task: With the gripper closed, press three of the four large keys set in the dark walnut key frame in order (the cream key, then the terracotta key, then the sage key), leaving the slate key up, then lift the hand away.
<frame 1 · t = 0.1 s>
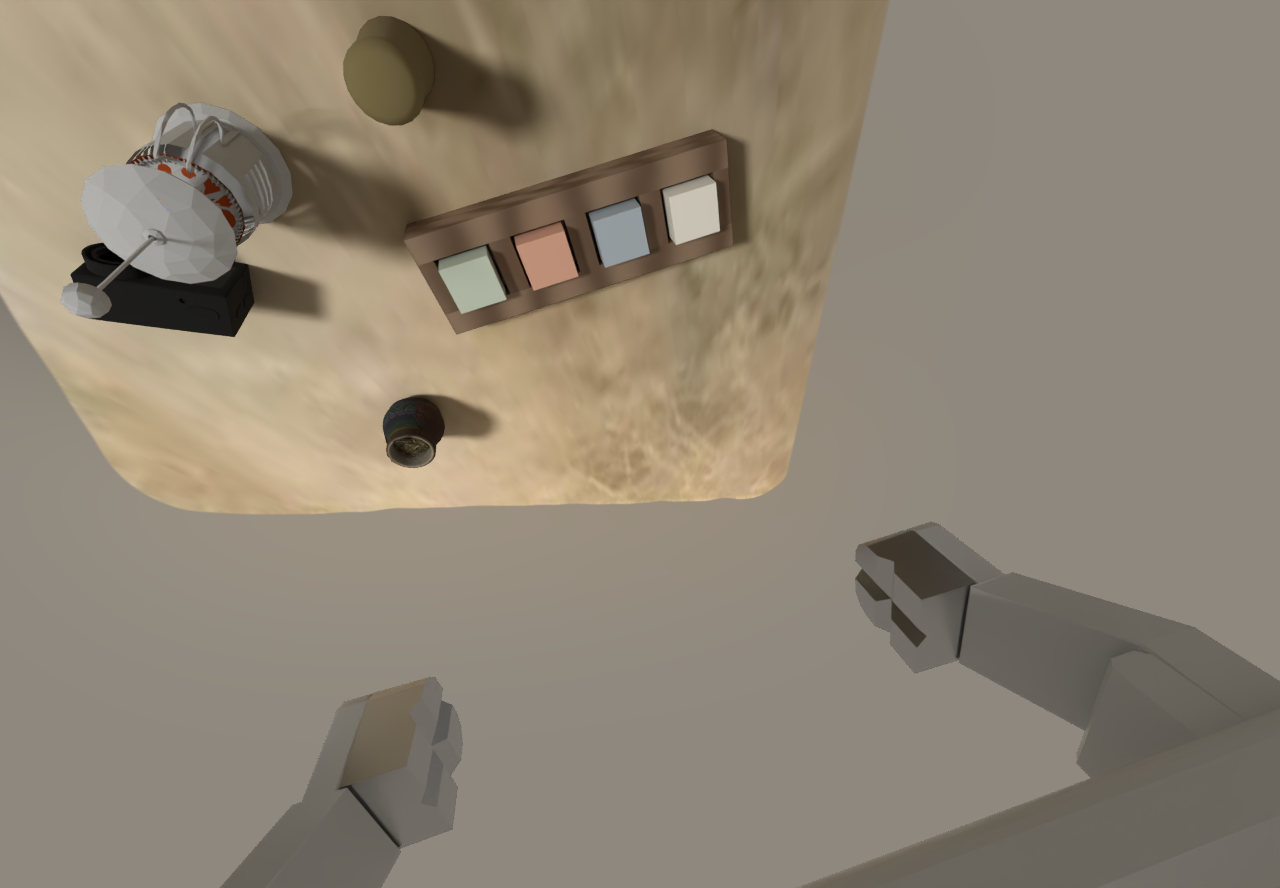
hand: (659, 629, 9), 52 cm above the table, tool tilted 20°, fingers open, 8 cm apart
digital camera: (187, 266, 48), on the table
slate key: (619, 233, 52), point 4 cm above the table, slide at 0.0 cm
terracotta key: (546, 256, 52), point 4 cm above the table, slide at 0.0 cm
mate gourd: (414, 409, 66), on the table
cream key: (691, 210, 52), point 4 cm above the table, slide at 0.0 cm
sage key: (473, 280, 52), point 4 cm above the table, slide at 0.0 cm
key frame: (576, 228, 55), on the table
french press: (227, 158, 44), on the table
cork: (396, 62, 42), on the table
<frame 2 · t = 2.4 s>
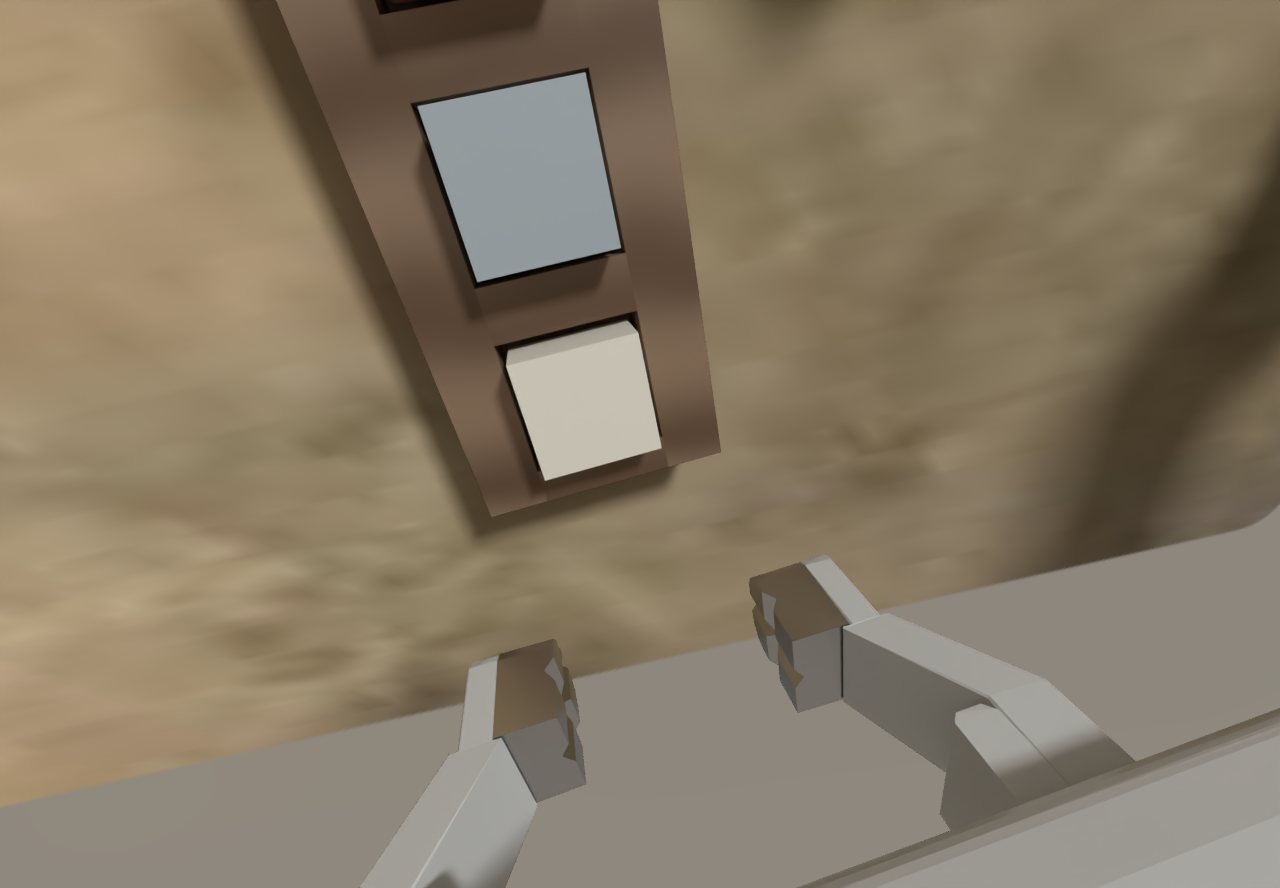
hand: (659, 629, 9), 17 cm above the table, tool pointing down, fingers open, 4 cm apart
slate key: (528, 184, 17), point 4 cm above the table, slide at 0.0 cm
cream key: (586, 399, 21), point 4 cm above the table, slide at 0.0 cm
key frame: (496, 72, 19), on the table
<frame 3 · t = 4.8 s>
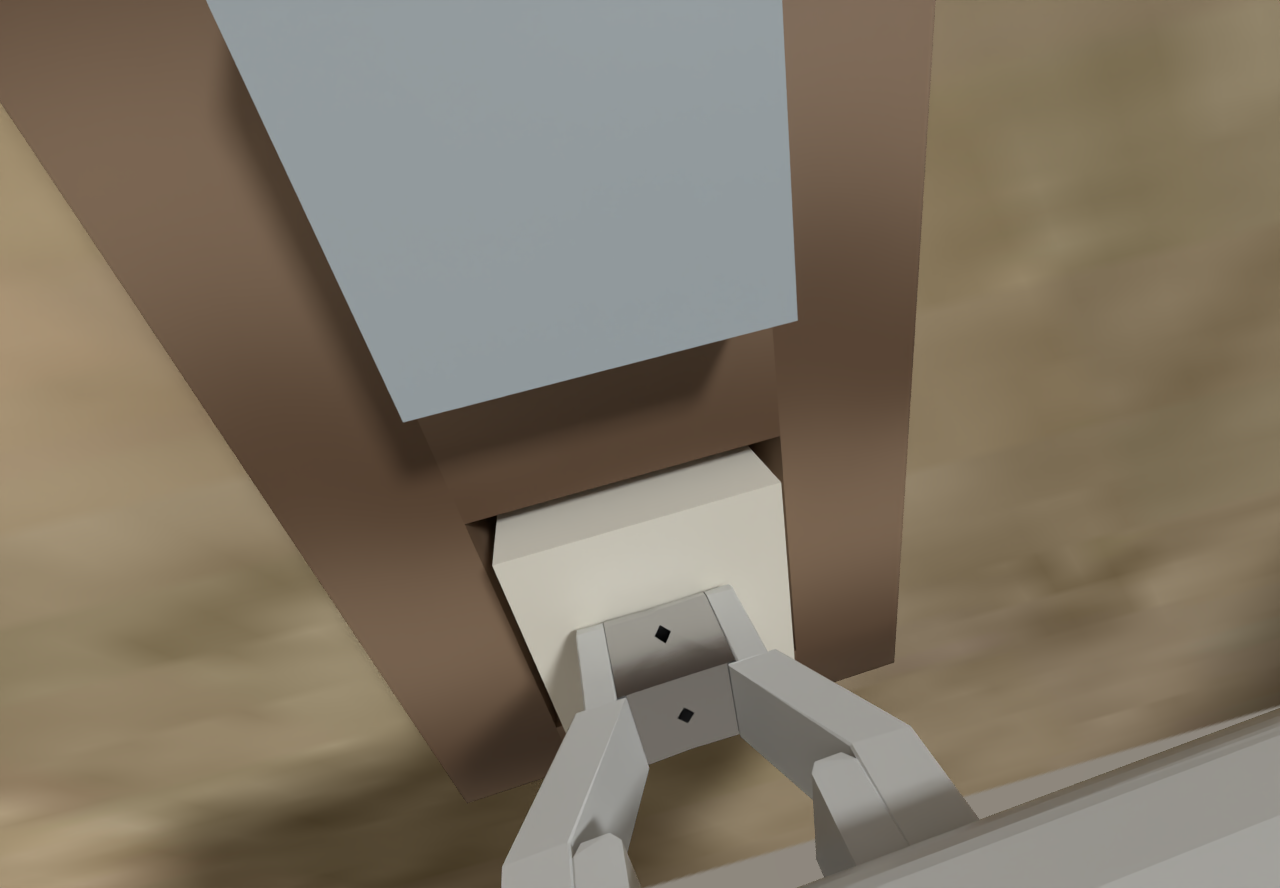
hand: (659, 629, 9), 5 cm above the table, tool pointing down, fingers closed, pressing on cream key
slate key: (547, 147, 6), point 4 cm above the table, slide at 0.0 cm
cream key: (651, 583, 11), point 4 cm above the table, slide at 0.9 cm, touching gripper
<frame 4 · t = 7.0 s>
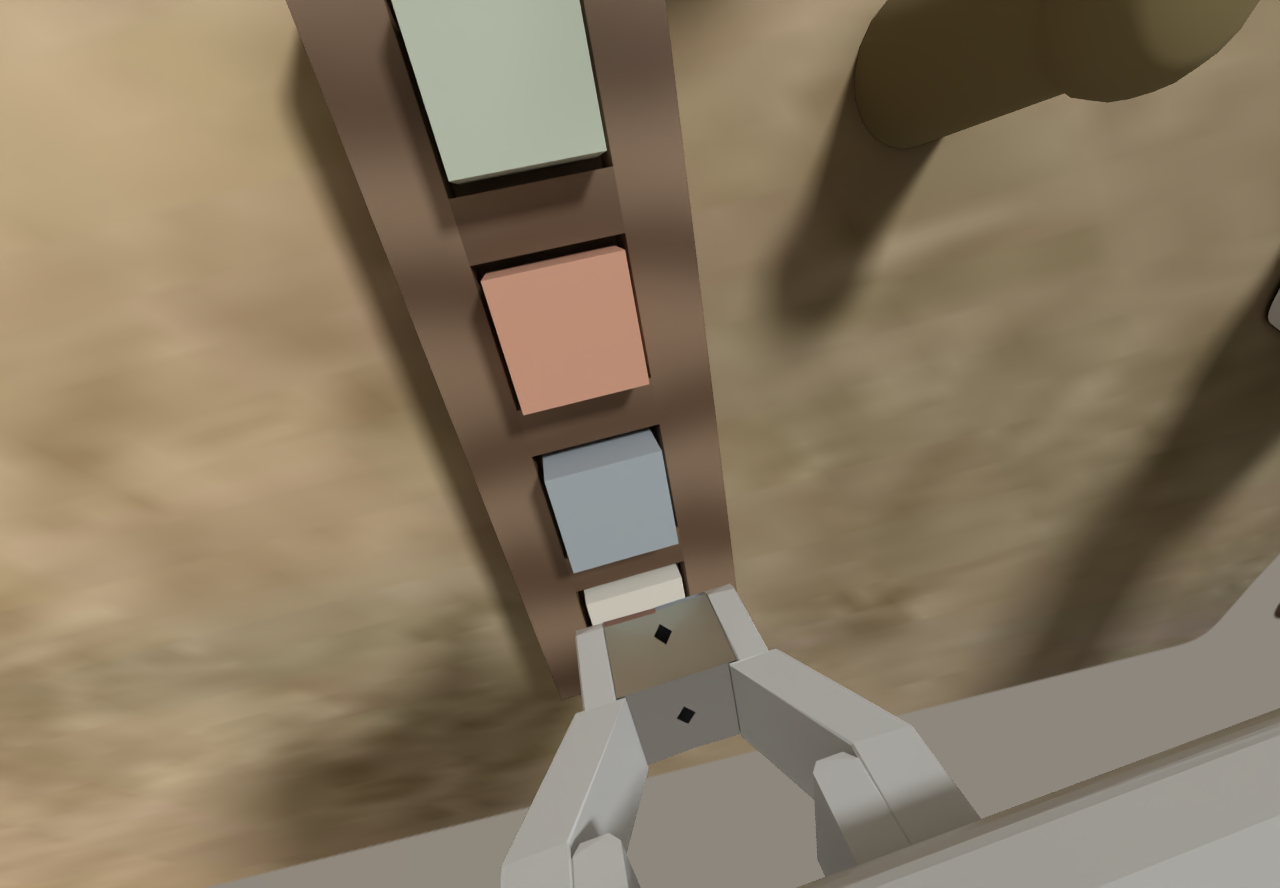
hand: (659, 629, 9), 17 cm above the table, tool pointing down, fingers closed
slate key: (611, 499, 23), point 4 cm above the table, slide at 0.0 cm
terracotta key: (569, 329, 19), point 4 cm above the table, slide at 0.0 cm
cream key: (638, 608, 27), point 3 cm above the table, slide at 1.0 cm
sage key: (506, 78, 15), point 4 cm above the table, slide at 0.0 cm
key frame: (581, 387, 25), on the table
cork: (914, 70, 22), on the table
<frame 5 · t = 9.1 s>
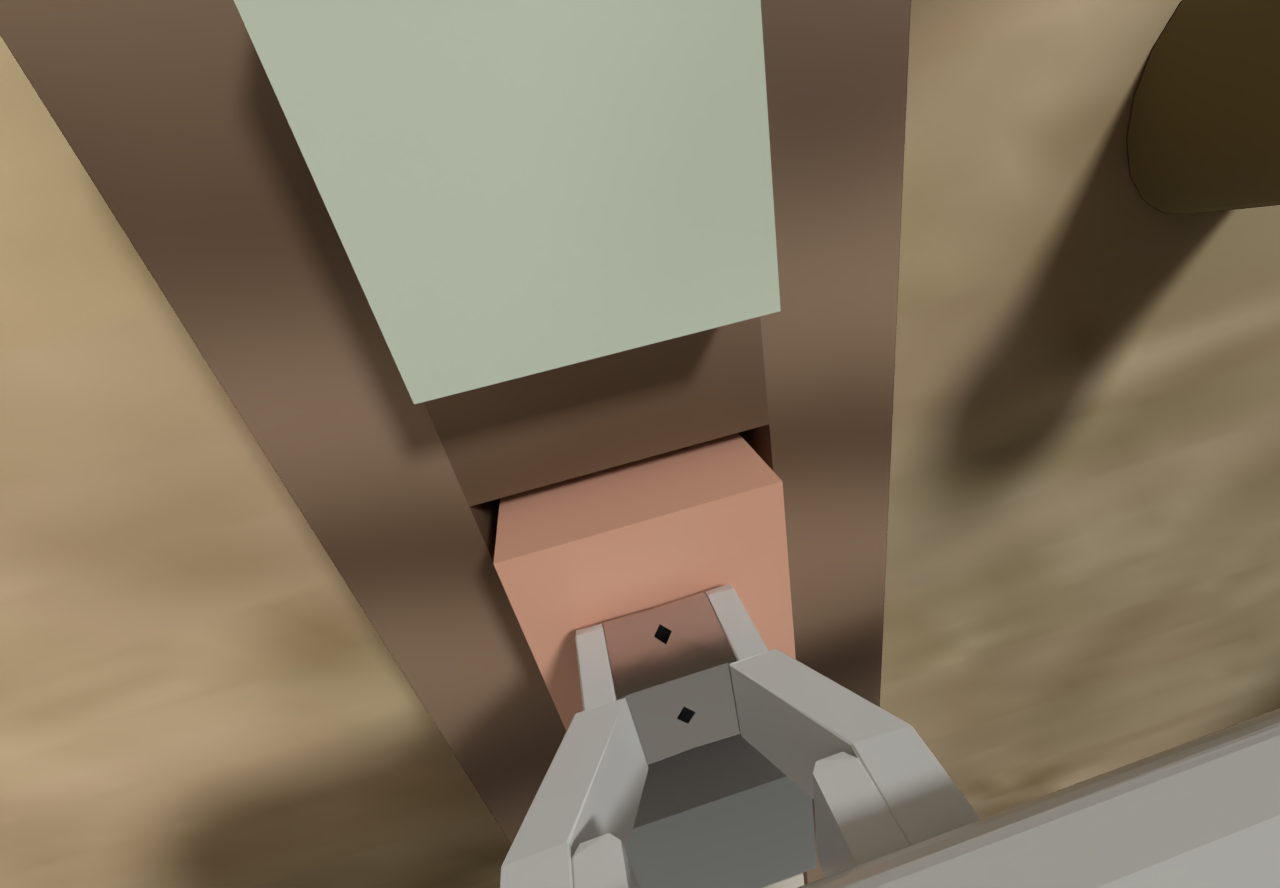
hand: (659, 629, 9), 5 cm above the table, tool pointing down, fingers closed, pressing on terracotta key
slate key: (707, 802, 14), point 4 cm above the table, slide at 0.0 cm
terracotta key: (652, 582, 11), point 4 cm above the table, slide at 0.4 cm, touching gripper
cream key: (727, 887, 18), point 3 cm above the table, slide at 1.0 cm
sage key: (547, 150, 7), point 4 cm above the table, slide at 0.0 cm
key frame: (647, 588, 16), on the table
cork: (1225, 86, 13), on the table
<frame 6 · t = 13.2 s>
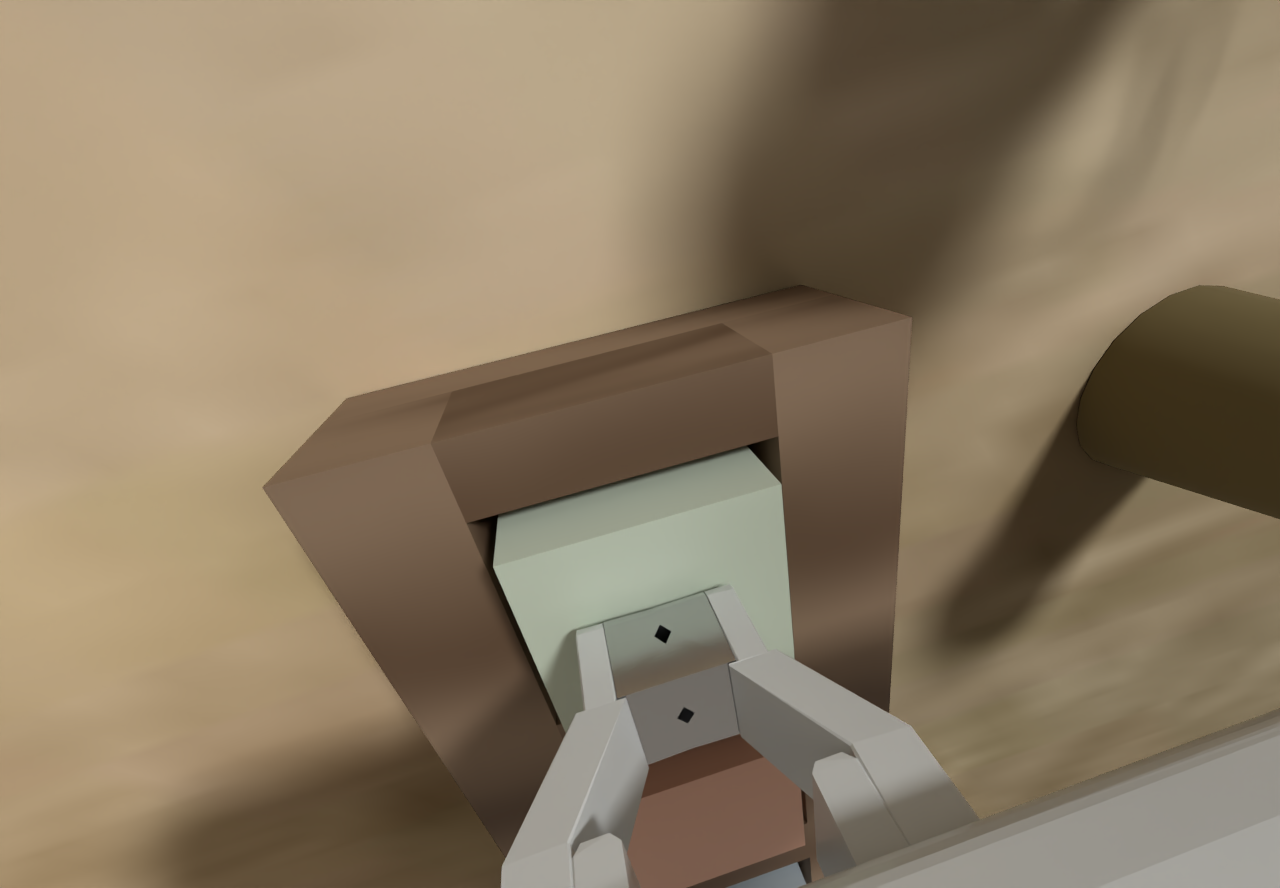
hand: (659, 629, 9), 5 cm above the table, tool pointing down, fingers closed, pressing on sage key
terracotta key: (700, 782, 14), point 3 cm above the table, slide at 1.0 cm
sage key: (652, 584, 11), point 4 cm above the table, slide at 0.8 cm, touching gripper
key frame: (687, 749, 19), on the table
cork: (1154, 380, 16), on the table
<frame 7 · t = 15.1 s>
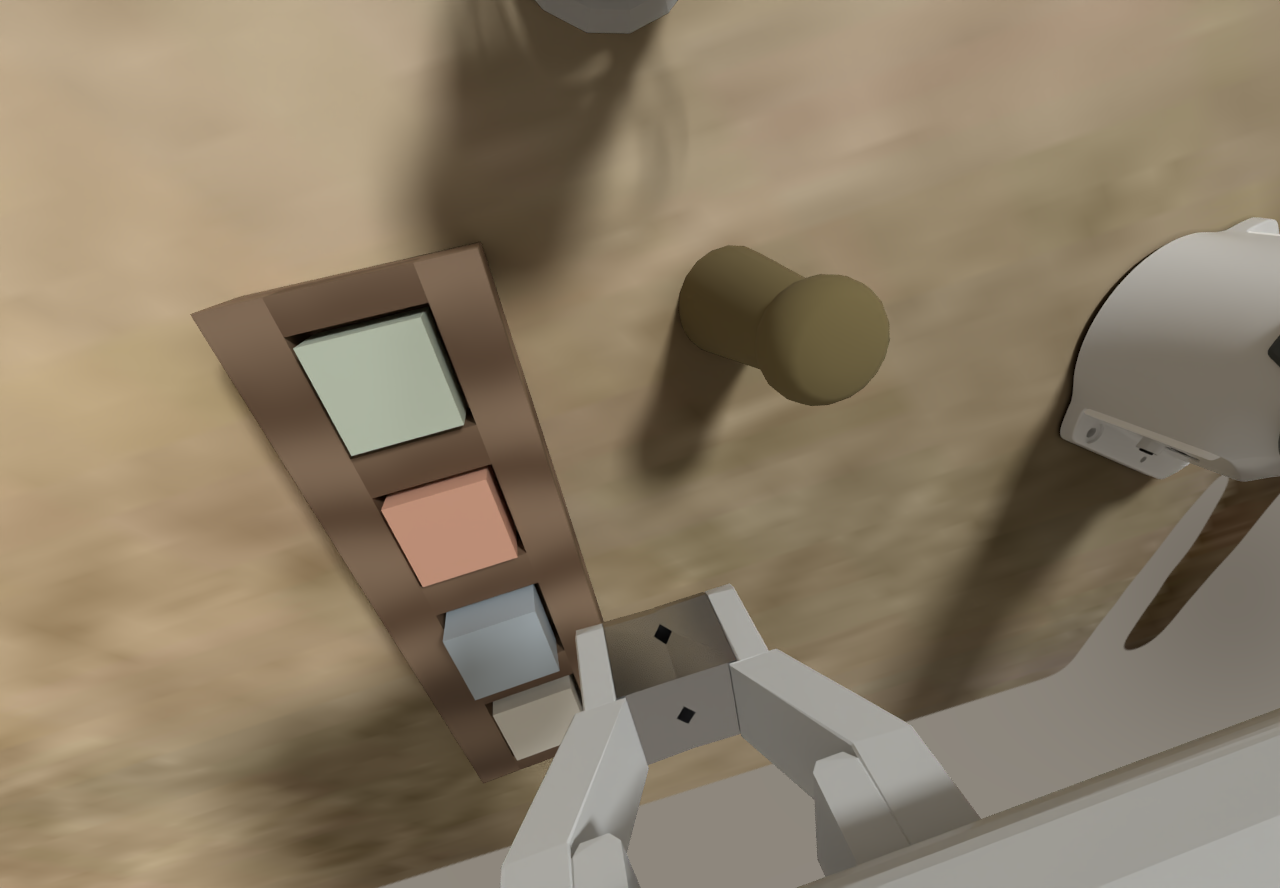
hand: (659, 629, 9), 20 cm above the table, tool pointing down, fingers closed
slate key: (504, 639, 29), point 4 cm above the table, slide at 0.0 cm
terracotta key: (455, 521, 26), point 3 cm above the table, slide at 1.0 cm
cream key: (541, 708, 34), point 3 cm above the table, slide at 1.0 cm
sage key: (390, 380, 22), point 3 cm above the table, slide at 1.0 cm
key frame: (483, 541, 31), on the table
cork: (727, 301, 28), on the table
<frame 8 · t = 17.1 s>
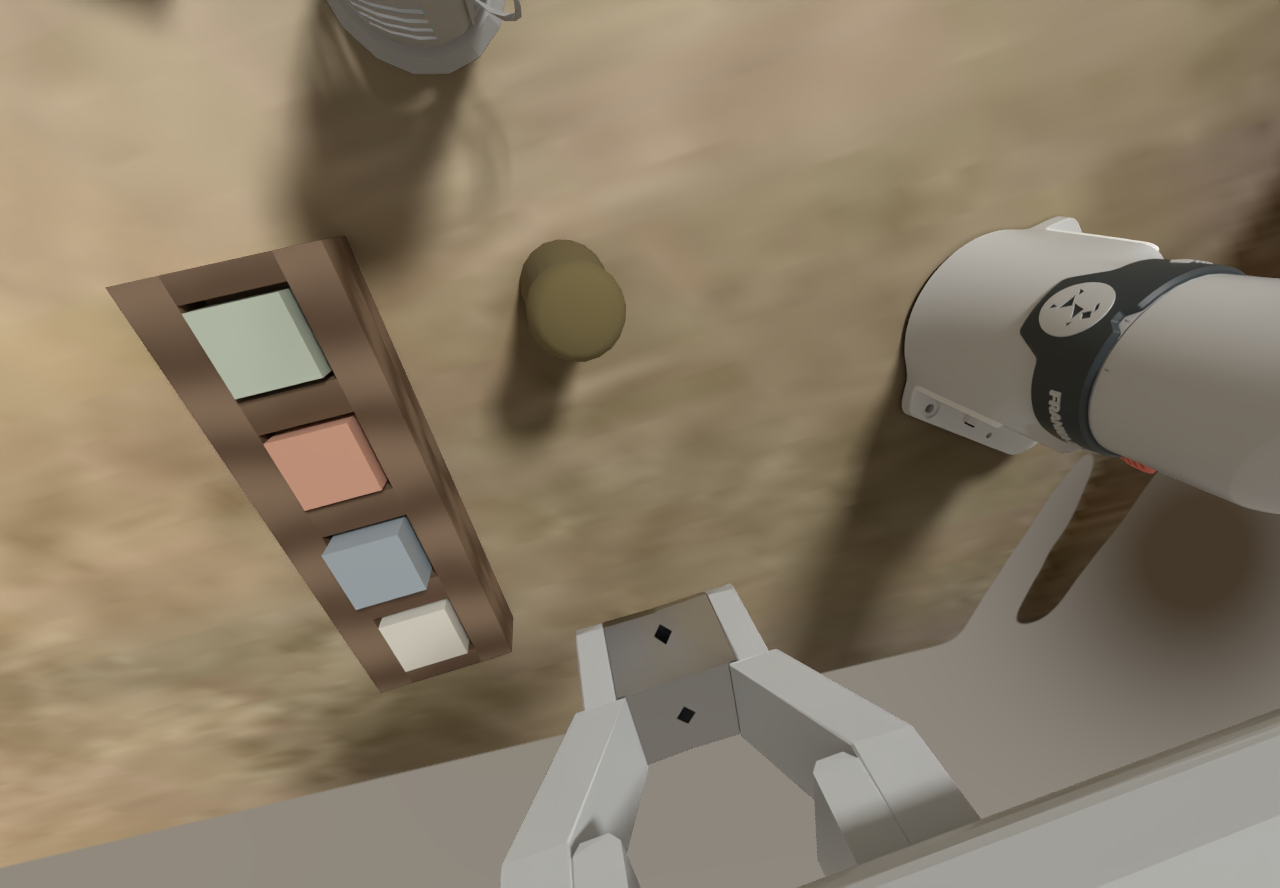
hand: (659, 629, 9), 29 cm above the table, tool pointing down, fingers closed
slate key: (380, 561, 35), point 4 cm above the table, slide at 0.0 cm
terracotta key: (332, 459, 33), point 3 cm above the table, slide at 1.0 cm
cream key: (427, 629, 40), point 3 cm above the table, slide at 1.0 cm
sage key: (266, 342, 29), point 3 cm above the table, slide at 1.0 cm
key frame: (373, 484, 37), on the table
cork: (564, 286, 34), on the table
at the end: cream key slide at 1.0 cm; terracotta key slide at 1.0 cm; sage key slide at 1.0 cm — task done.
